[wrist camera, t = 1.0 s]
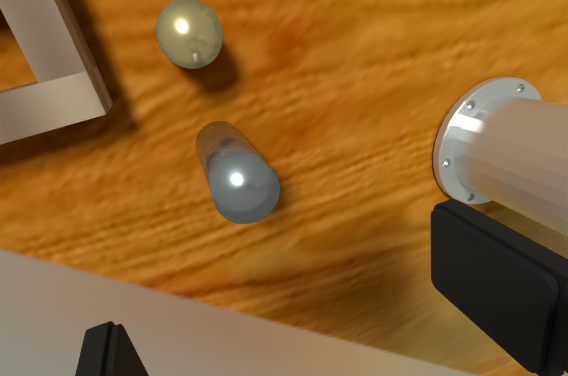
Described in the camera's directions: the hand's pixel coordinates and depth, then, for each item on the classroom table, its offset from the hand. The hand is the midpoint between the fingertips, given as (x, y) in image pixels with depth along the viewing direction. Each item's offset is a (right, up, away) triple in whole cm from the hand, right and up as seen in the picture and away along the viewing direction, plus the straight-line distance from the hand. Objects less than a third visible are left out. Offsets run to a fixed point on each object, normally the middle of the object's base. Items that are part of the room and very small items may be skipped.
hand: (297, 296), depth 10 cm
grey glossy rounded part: (-7, +13, +14) cm, 21 cm away
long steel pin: (-5, +6, +18) cm, 20 cm away
